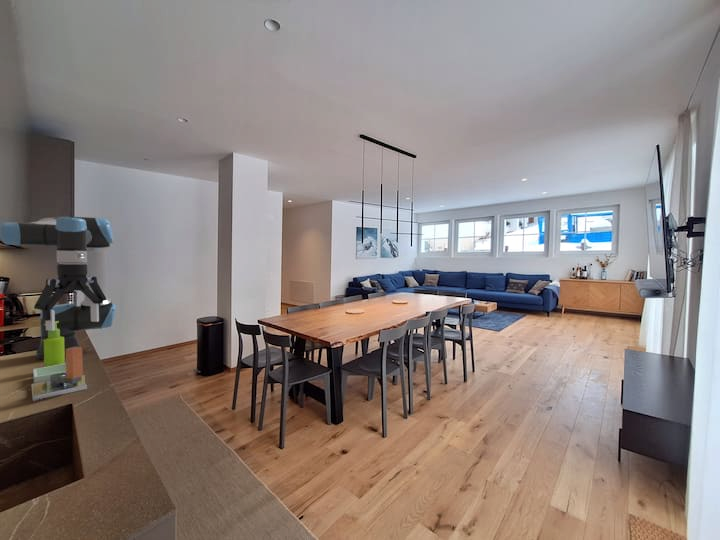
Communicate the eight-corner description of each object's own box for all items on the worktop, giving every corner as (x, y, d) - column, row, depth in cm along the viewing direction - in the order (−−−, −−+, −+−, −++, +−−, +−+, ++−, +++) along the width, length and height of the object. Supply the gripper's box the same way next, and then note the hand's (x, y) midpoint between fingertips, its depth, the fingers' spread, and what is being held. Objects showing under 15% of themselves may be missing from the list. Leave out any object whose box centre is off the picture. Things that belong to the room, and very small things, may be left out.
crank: (46, 385, 106) (45, 347, 105) (61, 380, 110) (60, 344, 110) (71, 388, 104) (70, 350, 103) (85, 383, 108) (84, 346, 107)
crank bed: (31, 388, 107) (31, 377, 107) (81, 377, 117) (81, 367, 117) (32, 401, 98) (32, 388, 98) (87, 388, 108) (86, 377, 107)
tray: (33, 378, 116) (33, 369, 116) (75, 370, 125) (74, 361, 125) (34, 387, 108) (34, 377, 108) (78, 377, 117) (78, 368, 117)
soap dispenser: (38, 374, 120) (37, 323, 119) (51, 368, 126) (49, 320, 126) (57, 373, 121) (55, 323, 120) (68, 367, 128) (67, 319, 127)
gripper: (35, 264, 92) (37, 335, 93) (117, 263, 116) (118, 318, 117) (16, 264, 93) (18, 333, 94) (101, 262, 117) (102, 317, 119)
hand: (74, 325), depth 106 cm, fingers open, 13 cm apart
